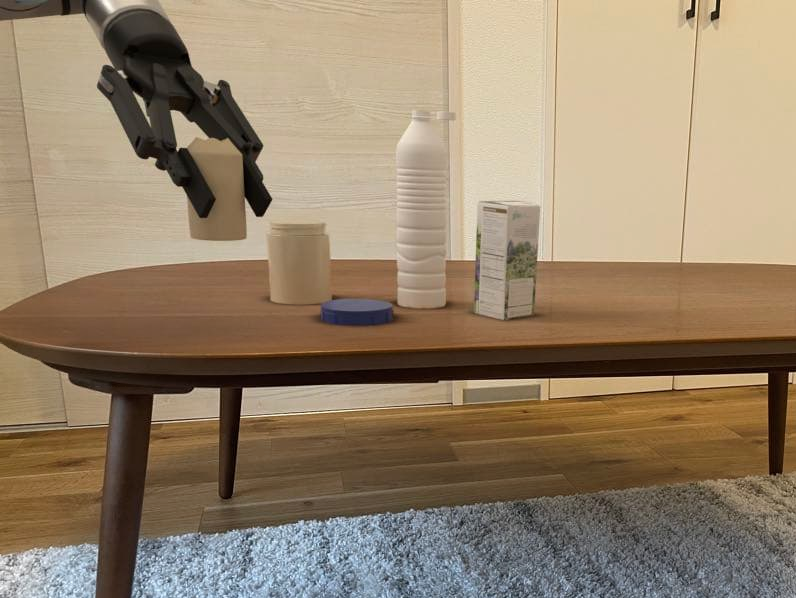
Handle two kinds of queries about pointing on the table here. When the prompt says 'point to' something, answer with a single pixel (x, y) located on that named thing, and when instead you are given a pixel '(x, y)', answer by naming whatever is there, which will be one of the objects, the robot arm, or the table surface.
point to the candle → (219, 191)
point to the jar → (299, 262)
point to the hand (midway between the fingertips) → (236, 208)
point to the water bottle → (421, 213)
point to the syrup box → (506, 259)
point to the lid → (356, 312)
